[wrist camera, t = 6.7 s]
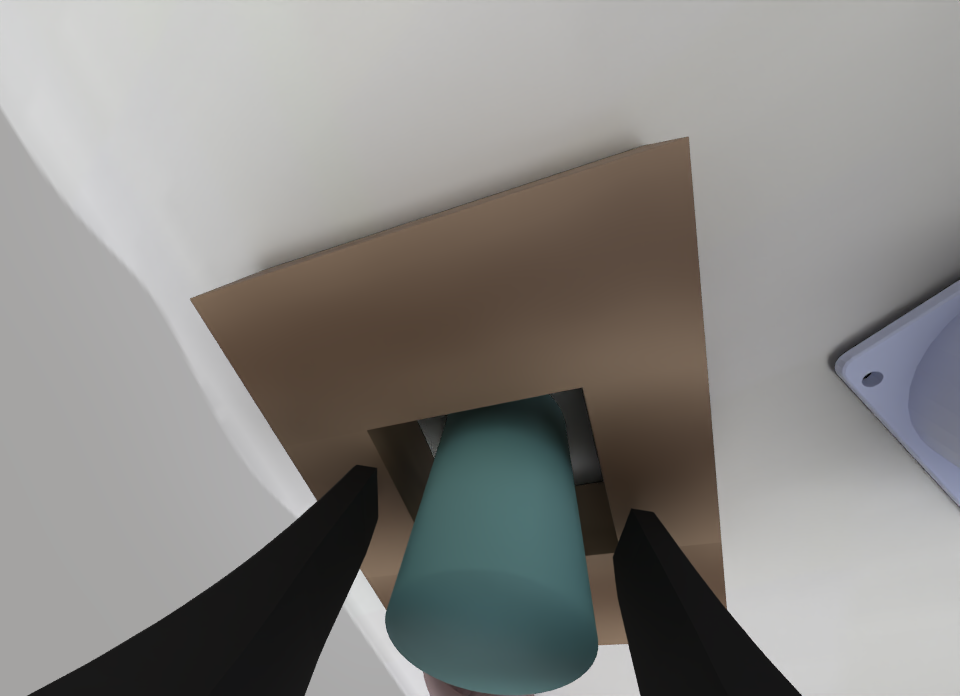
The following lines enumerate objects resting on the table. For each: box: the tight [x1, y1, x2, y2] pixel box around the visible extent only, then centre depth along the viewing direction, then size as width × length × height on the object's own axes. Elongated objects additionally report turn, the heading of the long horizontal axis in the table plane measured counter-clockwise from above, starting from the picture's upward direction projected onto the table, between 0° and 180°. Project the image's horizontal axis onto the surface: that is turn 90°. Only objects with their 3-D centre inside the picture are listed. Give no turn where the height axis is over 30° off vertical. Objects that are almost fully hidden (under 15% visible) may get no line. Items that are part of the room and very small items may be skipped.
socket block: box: [190, 137, 727, 645], centre depth 13 cm, size 16×12×3 cm
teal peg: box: [385, 394, 598, 695], centre depth 11 cm, size 4×4×7 cm
